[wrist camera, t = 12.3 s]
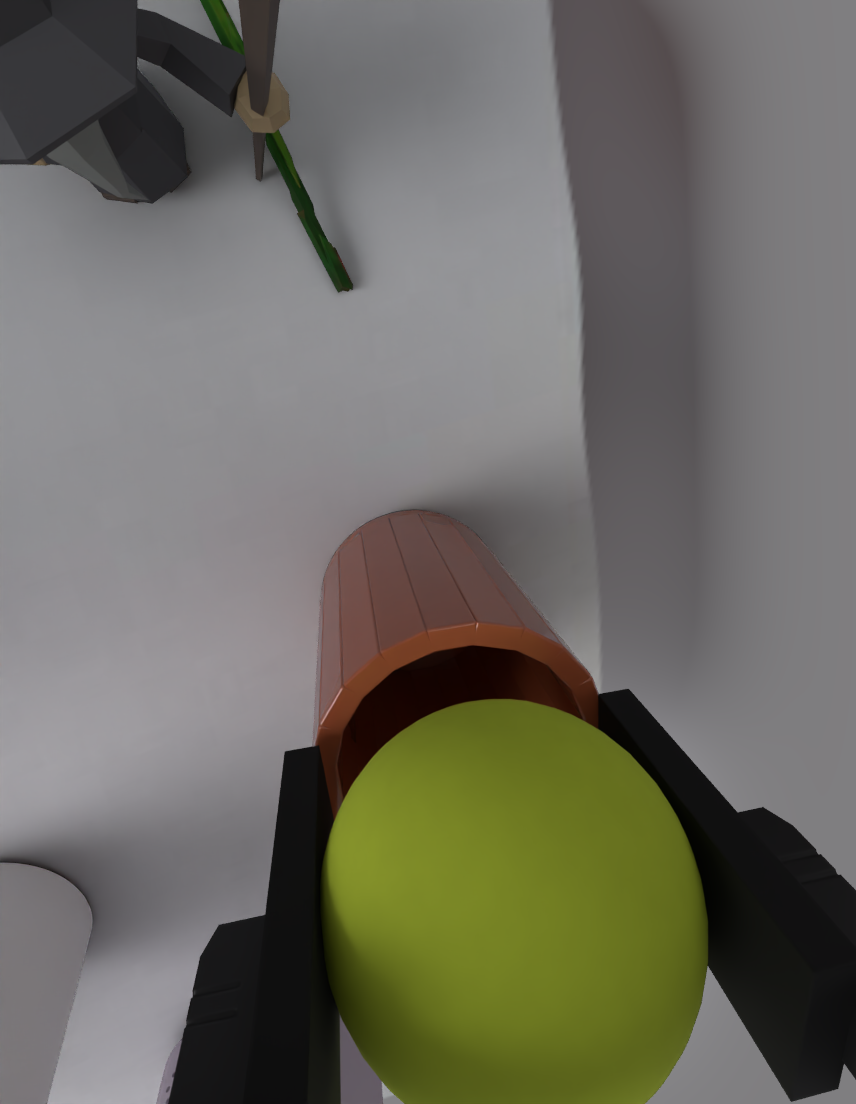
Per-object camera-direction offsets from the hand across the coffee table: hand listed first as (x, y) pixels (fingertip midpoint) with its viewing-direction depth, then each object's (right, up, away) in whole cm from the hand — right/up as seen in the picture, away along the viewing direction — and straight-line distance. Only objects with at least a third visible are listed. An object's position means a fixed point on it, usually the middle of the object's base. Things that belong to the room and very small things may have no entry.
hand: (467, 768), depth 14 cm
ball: (0, -1, -3) cm, 3 cm away
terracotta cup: (-2, +3, +10) cm, 10 cm away
